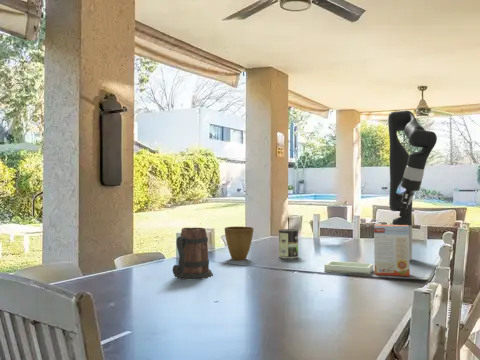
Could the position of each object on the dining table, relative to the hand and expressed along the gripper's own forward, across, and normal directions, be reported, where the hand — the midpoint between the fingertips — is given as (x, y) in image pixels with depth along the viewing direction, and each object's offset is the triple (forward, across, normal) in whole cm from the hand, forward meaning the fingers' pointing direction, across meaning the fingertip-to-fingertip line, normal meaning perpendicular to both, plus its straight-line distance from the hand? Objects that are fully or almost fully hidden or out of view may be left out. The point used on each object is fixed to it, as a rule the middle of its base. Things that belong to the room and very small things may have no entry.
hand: (403, 214), depth 196 cm
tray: (+29, +9, -15) cm, 34 cm away
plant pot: (+46, +2, -71) cm, 85 cm away
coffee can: (+43, -15, -51) cm, 68 cm away
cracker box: (+25, +8, +2) cm, 26 cm away
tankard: (+37, +49, -71) cm, 94 cm away
